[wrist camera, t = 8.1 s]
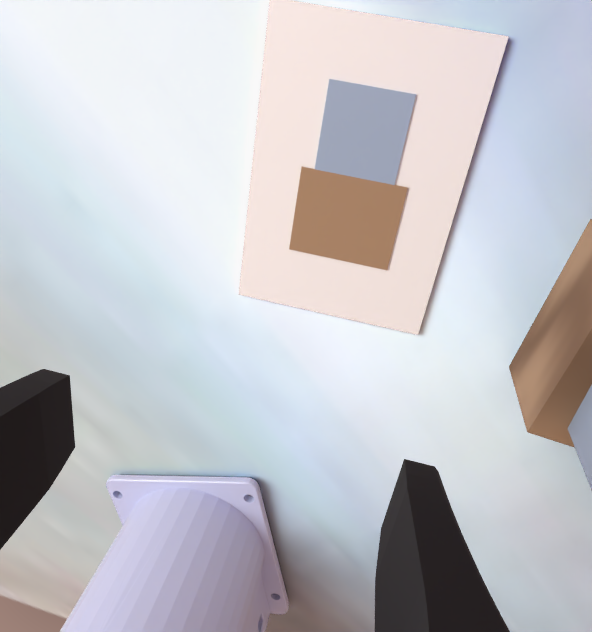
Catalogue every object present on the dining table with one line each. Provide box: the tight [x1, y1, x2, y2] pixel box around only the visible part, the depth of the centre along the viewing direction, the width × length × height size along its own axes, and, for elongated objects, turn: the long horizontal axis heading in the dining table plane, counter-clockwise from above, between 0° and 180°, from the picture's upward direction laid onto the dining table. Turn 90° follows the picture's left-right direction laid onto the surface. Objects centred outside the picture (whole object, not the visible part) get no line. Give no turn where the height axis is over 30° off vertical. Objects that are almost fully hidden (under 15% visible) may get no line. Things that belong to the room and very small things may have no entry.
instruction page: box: [239, 0, 509, 335], centre depth 18 cm, size 10×7×1 cm
